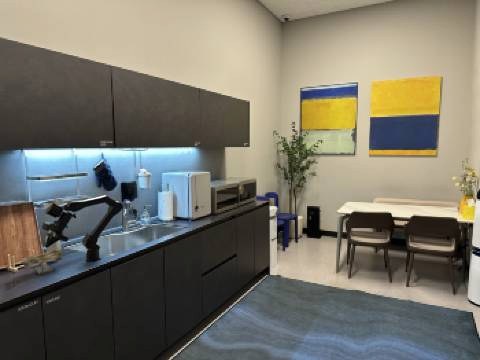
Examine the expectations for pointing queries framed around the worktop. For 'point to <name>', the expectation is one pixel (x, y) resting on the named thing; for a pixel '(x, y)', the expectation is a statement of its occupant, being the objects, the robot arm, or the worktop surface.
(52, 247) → the skincare box
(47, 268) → the pivot stand
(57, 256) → the lever
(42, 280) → the worktop surface
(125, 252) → the worktop surface
